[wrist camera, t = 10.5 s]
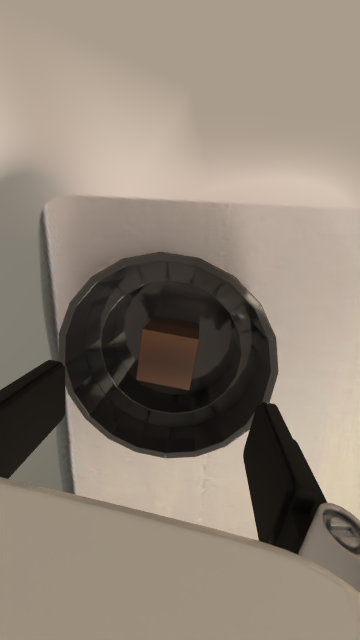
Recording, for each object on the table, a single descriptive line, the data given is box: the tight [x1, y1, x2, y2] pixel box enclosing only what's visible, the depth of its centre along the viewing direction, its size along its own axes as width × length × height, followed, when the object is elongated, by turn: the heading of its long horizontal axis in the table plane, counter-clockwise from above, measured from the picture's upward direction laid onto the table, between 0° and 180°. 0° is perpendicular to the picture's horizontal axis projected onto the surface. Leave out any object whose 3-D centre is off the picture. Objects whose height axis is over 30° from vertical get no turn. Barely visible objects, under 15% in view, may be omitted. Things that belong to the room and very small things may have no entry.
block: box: [136, 316, 200, 390], centre depth 18 cm, size 4×4×4 cm
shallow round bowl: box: [59, 252, 278, 458], centre depth 18 cm, size 15×15×6 cm
